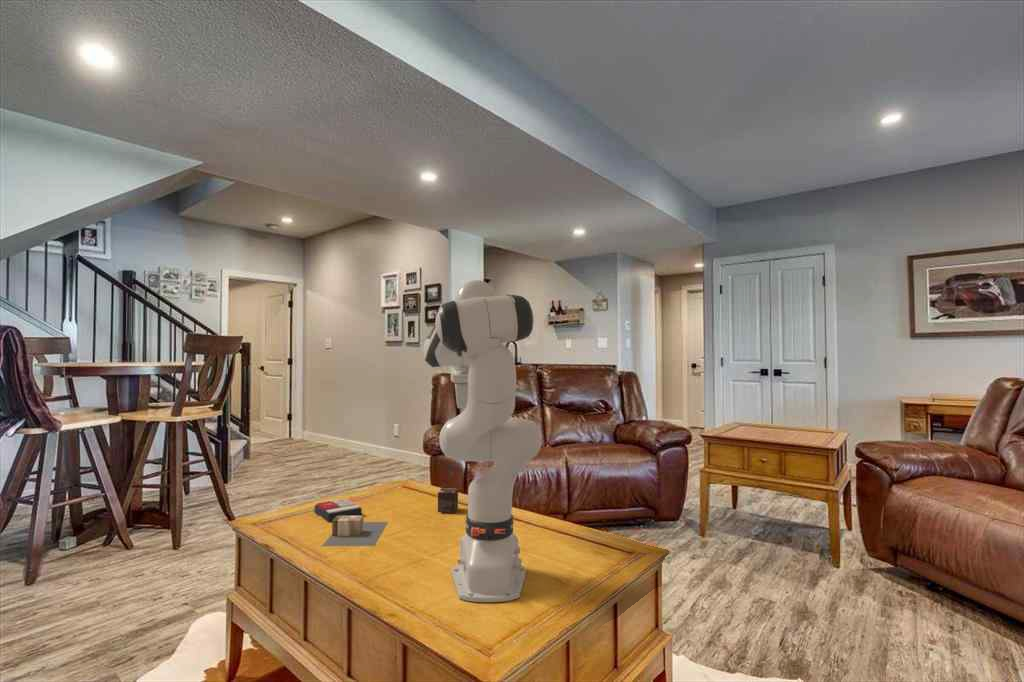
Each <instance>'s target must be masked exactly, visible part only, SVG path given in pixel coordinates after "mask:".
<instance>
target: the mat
mask: <svg viewBox="0 0 1024 682" xmlns="http://www.w3.org/2000/svg"><path fill="white" fill-rule="evenodd" d="M388 523H389V522H388V521H363V531H362V533H361V534H360V536H332V533H331V535H330V536H329V537H328V538H326V540H325V541H324V542H323V544H322V546H321V547H351V546H352V547H357V546H358V547H359V546H360V547H371V546H372V547H375V546H376V544H377V542H378V541H379V539H380V537H381V536H382V534H383V532H384V530H385V528H386V526H387V525H388Z"/></svg>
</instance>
